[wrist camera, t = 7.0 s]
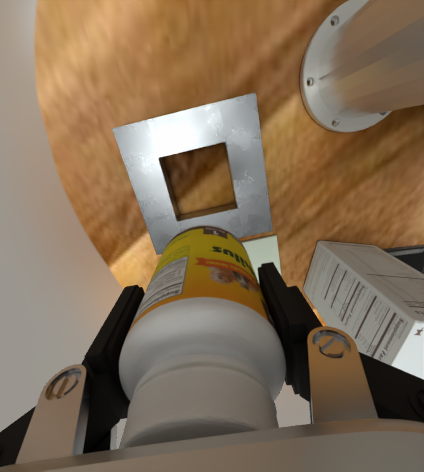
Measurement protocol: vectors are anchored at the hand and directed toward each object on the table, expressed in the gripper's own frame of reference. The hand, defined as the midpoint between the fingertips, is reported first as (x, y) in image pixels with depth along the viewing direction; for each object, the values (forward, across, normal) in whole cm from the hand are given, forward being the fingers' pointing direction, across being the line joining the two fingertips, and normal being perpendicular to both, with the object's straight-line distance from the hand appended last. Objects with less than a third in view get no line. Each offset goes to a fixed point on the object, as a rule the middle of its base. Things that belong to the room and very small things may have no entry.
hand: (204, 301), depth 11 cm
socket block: (+22, 0, -3) cm, 22 cm away
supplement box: (+22, -18, +14) cm, 32 cm away
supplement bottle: (+4, 0, 0) cm, 4 cm away
